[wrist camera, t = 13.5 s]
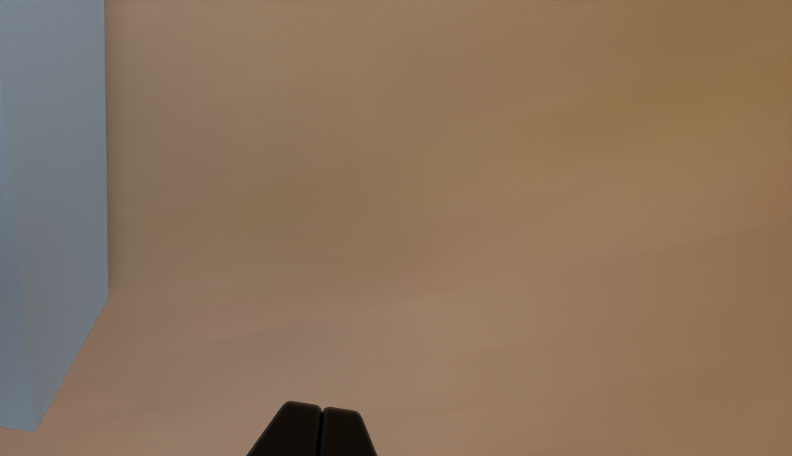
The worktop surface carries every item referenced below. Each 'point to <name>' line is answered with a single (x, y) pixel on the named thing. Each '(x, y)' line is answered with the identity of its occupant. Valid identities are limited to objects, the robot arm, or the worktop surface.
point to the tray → (49, 196)
